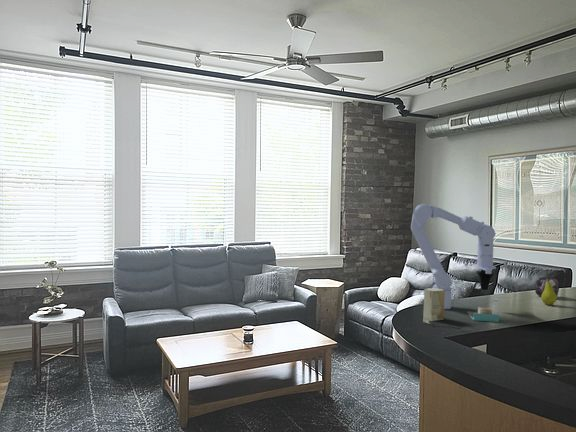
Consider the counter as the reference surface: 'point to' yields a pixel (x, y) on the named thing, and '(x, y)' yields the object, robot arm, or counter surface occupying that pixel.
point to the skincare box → (433, 305)
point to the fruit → (548, 294)
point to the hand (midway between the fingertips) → (484, 289)
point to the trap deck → (484, 317)
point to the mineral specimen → (542, 282)
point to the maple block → (484, 310)
